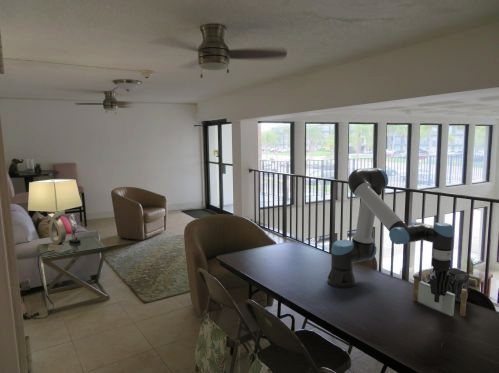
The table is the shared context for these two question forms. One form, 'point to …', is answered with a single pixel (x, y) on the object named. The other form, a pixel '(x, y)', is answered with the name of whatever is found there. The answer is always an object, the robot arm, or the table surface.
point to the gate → (428, 298)
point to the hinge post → (416, 287)
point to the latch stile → (463, 302)
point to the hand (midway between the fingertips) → (437, 308)
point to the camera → (458, 283)
